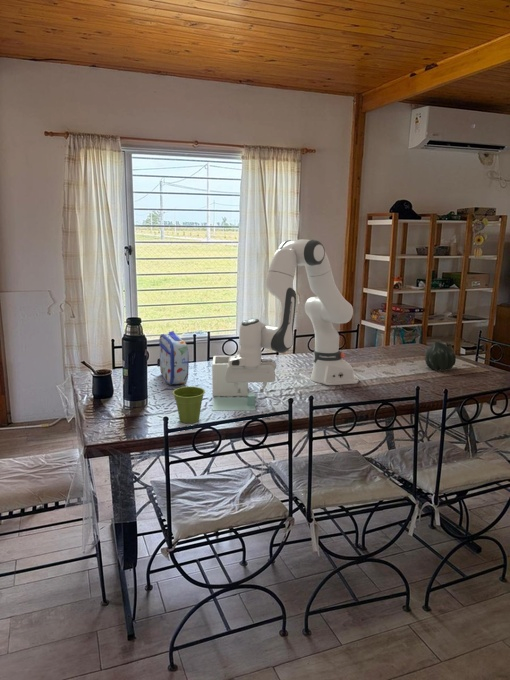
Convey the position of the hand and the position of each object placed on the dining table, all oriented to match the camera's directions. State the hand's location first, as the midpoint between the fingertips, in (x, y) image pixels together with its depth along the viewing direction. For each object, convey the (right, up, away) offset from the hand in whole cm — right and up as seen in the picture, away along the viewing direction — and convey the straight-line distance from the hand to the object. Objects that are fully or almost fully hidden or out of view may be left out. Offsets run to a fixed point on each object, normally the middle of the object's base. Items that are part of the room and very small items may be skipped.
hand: (250, 392), depth 205 cm
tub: (-9, -1, +17) cm, 19 cm away
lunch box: (-37, +2, +33) cm, 49 cm away
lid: (-8, -5, +1) cm, 9 cm away
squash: (+97, +6, +54) cm, 111 cm away
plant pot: (-23, -9, -17) cm, 29 cm away
